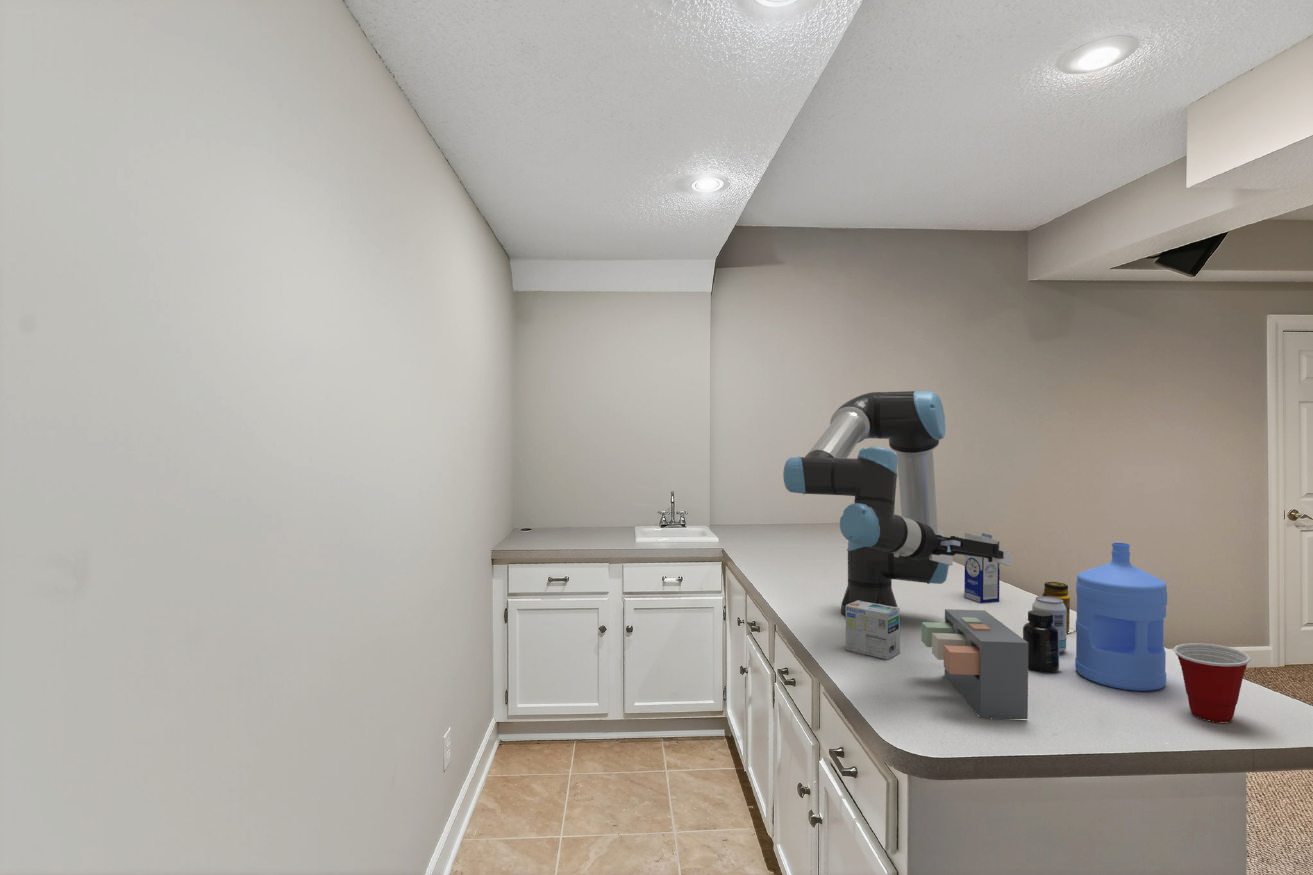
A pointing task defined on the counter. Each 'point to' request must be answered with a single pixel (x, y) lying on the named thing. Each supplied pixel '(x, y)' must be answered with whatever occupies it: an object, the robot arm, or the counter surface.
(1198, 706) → the plastic cup
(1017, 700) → the key console
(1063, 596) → the condiment
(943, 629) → the sage key
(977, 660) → the terracotta key
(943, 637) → the ivory key
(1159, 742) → the counter surface
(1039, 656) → the supplement bottle
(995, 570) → the milk carton
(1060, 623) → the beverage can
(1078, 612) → the water jug
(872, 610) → the light bulb box
